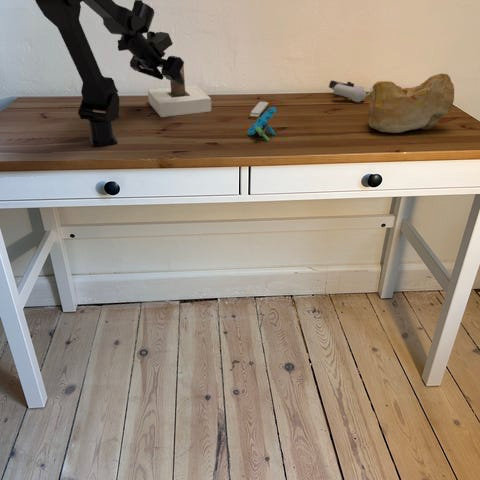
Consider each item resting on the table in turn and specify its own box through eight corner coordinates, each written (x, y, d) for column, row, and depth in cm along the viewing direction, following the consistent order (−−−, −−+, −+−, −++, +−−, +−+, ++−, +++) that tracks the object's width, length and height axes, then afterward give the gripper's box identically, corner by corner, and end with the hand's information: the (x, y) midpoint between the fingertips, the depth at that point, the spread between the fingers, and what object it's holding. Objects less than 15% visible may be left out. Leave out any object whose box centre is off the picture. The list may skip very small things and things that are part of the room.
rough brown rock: (426, 117, 144) (434, 66, 137) (454, 132, 129) (464, 75, 122) (353, 123, 142) (357, 71, 135) (373, 138, 127) (378, 80, 120)
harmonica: (260, 106, 152) (260, 99, 150) (269, 106, 151) (269, 100, 150) (248, 119, 140) (248, 113, 139) (258, 121, 139) (258, 114, 138)
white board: (211, 111, 145) (210, 98, 143) (160, 117, 140) (159, 103, 138) (195, 97, 158) (195, 85, 155) (148, 102, 152) (147, 90, 150)
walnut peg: (188, 108, 148) (185, 65, 141) (174, 109, 146) (170, 66, 139) (184, 104, 151) (181, 62, 144) (170, 105, 150) (166, 63, 143)
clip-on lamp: (376, 103, 164) (326, 91, 162) (382, 84, 161) (332, 72, 159) (384, 110, 153) (332, 97, 151) (392, 91, 150) (338, 77, 149)
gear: (251, 121, 133) (276, 99, 127) (265, 135, 134) (290, 115, 128) (241, 139, 125) (267, 117, 118) (256, 155, 126) (282, 134, 120)
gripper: (176, 26, 125) (206, 63, 138) (133, 19, 136) (165, 54, 149) (156, 61, 124) (188, 95, 137) (114, 52, 135) (148, 84, 148)
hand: (172, 80), depth 143 cm, fingers open, 9 cm apart
